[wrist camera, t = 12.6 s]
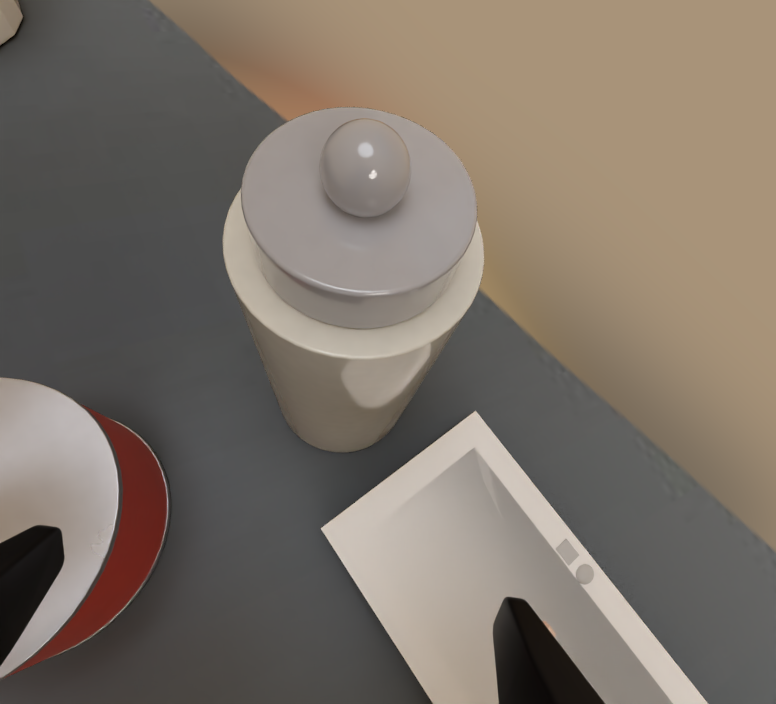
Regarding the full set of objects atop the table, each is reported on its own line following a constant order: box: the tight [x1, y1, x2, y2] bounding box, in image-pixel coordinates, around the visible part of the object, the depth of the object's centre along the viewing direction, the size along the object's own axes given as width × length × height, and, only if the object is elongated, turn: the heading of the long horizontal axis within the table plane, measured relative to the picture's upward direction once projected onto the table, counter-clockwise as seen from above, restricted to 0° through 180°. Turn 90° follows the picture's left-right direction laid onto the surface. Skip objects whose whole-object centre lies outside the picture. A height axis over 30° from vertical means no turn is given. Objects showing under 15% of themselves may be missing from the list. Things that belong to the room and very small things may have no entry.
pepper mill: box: [223, 107, 484, 452], centre depth 13 cm, size 6×6×14 cm
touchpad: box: [321, 411, 708, 704], centre depth 16 cm, size 8×15×2 cm, turn 37°
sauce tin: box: [0, 378, 171, 680], centre depth 14 cm, size 8×8×5 cm
